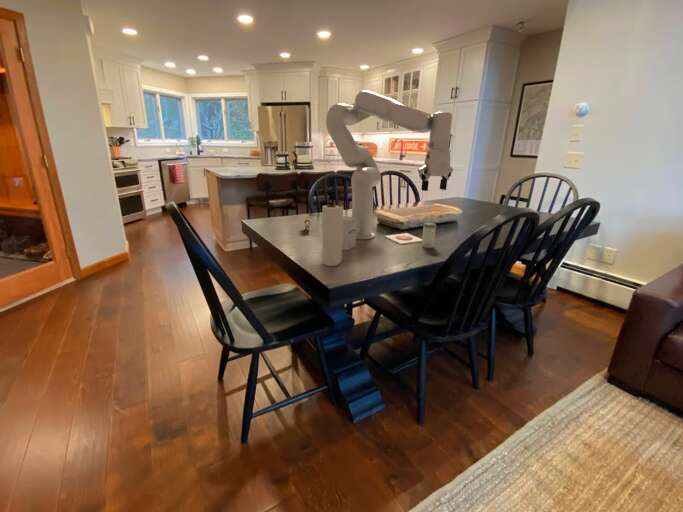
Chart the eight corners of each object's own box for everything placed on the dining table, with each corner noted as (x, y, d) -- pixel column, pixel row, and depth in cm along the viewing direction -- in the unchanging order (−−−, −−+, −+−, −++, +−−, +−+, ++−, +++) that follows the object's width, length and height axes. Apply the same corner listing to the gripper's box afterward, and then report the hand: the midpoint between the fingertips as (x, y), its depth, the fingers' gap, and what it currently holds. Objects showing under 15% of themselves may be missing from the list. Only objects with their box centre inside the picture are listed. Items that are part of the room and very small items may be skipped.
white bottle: (347, 251, 135) (348, 221, 131) (332, 247, 139) (332, 218, 135) (356, 246, 141) (357, 217, 137) (341, 243, 145) (342, 215, 141)
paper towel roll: (322, 266, 118) (322, 207, 111) (322, 260, 124) (322, 204, 117) (342, 266, 118) (343, 207, 111) (342, 260, 124) (343, 204, 117)
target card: (400, 244, 145) (400, 243, 145) (384, 237, 156) (384, 235, 156) (424, 241, 150) (424, 239, 150) (406, 234, 161) (406, 232, 161)
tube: (426, 248, 140) (429, 226, 137) (418, 245, 145) (421, 223, 141) (436, 247, 142) (438, 224, 139) (428, 244, 147) (430, 222, 143)
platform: (318, 226, 173) (318, 214, 171) (321, 236, 157) (321, 222, 154) (295, 227, 172) (295, 215, 169) (295, 236, 155) (295, 223, 153)
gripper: (427, 146, 123) (423, 192, 129) (462, 146, 130) (456, 190, 136) (415, 145, 129) (411, 189, 135) (448, 146, 137) (443, 187, 142)
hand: (433, 190), depth 135 cm, fingers open, 9 cm apart
